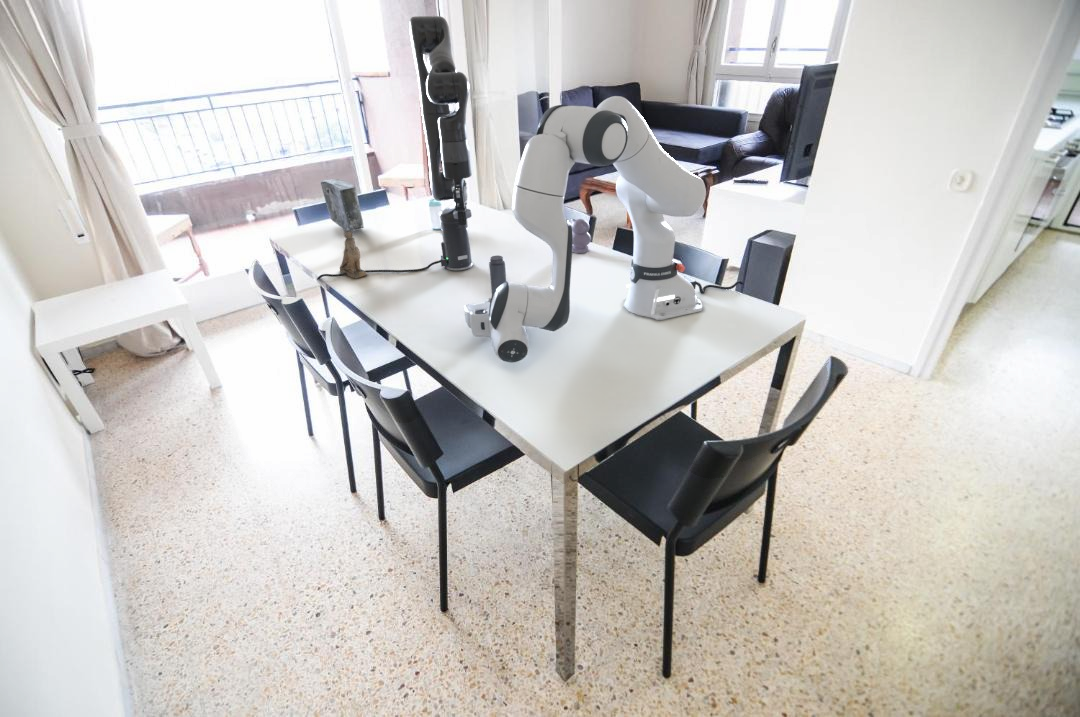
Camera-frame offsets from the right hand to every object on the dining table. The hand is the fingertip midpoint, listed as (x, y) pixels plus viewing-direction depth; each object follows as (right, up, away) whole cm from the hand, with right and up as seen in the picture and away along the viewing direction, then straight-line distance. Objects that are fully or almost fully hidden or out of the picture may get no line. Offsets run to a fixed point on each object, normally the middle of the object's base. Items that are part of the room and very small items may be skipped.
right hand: (499, 299), depth 139 cm
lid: (-11, +25, +1) cm, 27 cm away
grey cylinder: (0, -6, +3) cm, 7 cm away
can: (-34, +42, +84) cm, 100 cm away
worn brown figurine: (-56, +14, +39) cm, 70 cm away
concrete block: (-76, +42, +87) cm, 123 cm away
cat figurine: (+27, +25, +52) cm, 64 cm away
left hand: (-10, +22, +2) cm, 25 cm away
